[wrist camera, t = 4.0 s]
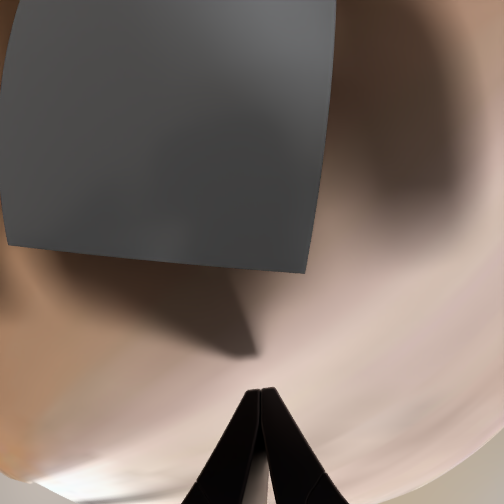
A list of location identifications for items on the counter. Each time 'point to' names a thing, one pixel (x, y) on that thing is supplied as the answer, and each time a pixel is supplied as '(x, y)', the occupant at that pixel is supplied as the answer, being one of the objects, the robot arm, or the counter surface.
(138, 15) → the slate tile
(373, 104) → the counter surface
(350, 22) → the counter surface
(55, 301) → the counter surface
